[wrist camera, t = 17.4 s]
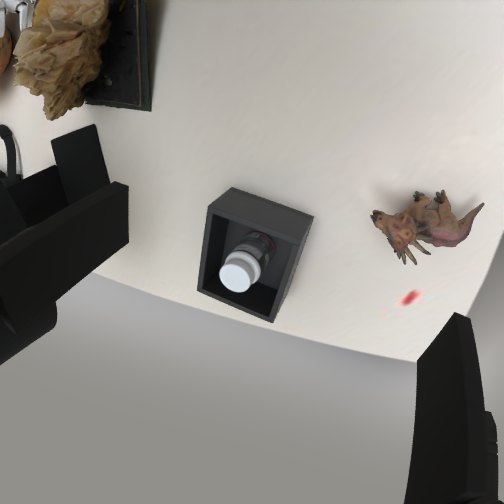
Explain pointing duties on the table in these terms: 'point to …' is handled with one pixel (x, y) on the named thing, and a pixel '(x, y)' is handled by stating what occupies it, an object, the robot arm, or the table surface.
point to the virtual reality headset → (9, 158)
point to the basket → (230, 235)
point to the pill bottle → (247, 262)
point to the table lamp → (49, 211)
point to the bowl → (5, 50)
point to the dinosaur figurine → (424, 225)
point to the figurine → (10, 1)
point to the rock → (85, 55)
